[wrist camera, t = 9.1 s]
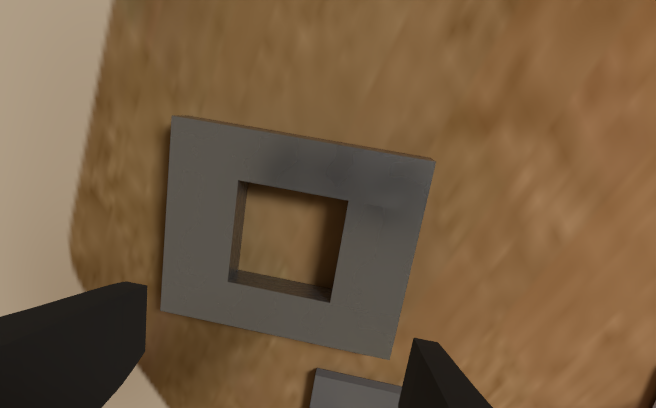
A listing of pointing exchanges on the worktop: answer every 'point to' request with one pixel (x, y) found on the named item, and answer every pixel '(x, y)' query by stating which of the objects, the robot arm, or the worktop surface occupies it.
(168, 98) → the worktop surface
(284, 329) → the socket plate
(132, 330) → the robot arm
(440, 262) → the worktop surface
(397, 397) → the rubber mat
